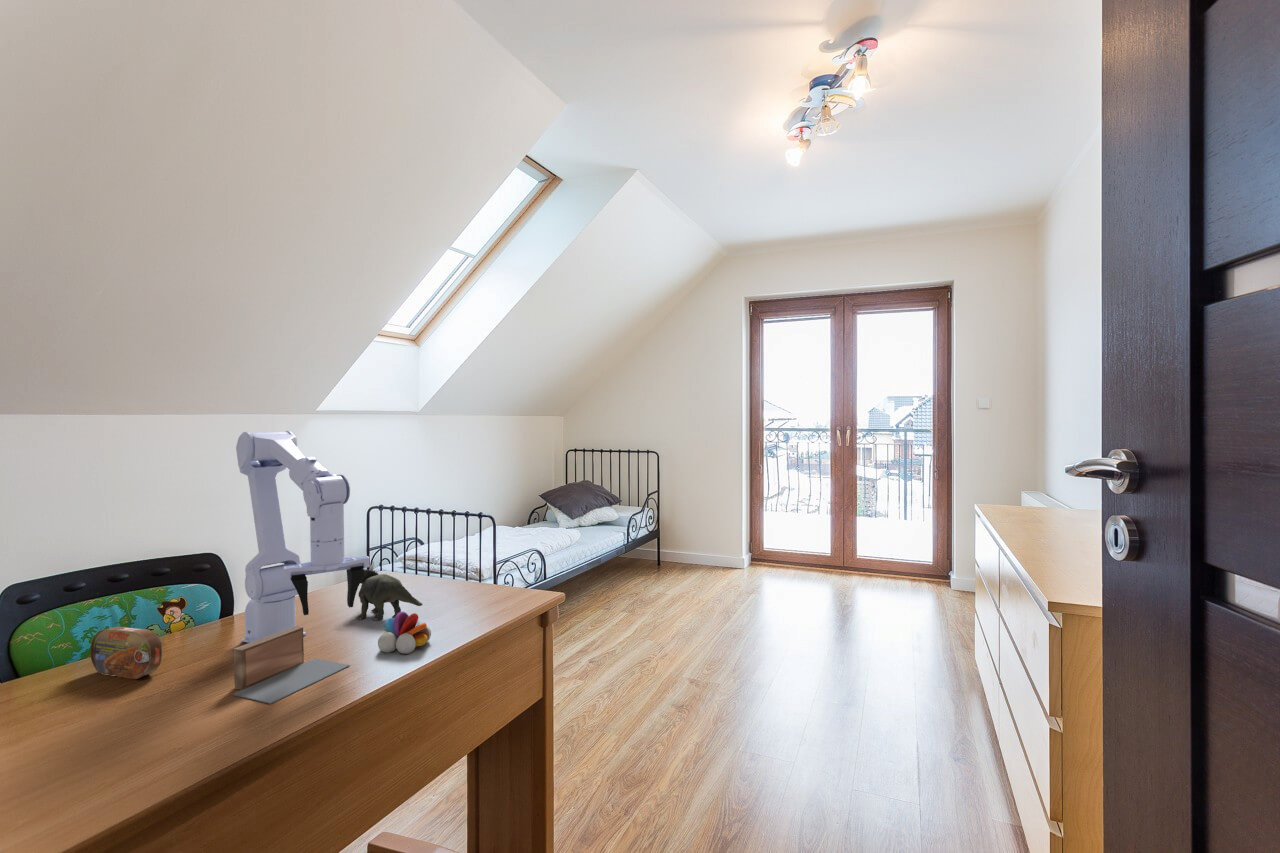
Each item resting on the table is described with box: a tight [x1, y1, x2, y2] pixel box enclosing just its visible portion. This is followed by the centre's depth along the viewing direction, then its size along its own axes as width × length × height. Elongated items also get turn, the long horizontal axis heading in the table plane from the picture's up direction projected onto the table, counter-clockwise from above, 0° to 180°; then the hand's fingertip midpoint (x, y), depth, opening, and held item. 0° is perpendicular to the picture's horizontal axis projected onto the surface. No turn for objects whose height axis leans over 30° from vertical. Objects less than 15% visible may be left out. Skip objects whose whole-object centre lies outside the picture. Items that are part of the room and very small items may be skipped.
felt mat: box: [232, 657, 351, 705], centre depth 108 cm, size 9×16×1 cm, turn 158°
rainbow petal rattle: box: [377, 611, 432, 655], centre depth 123 cm, size 8×10×7 cm
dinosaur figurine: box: [355, 560, 424, 621], centre depth 142 cm, size 22×8×11 cm, turn 58°
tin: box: [89, 626, 163, 680], centre depth 111 cm, size 15×3×8 cm, turn 74°
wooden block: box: [233, 625, 305, 691], centre depth 110 cm, size 2×12×7 cm, turn 158°
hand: (328, 609), depth 116 cm, fingers open, 7 cm apart
